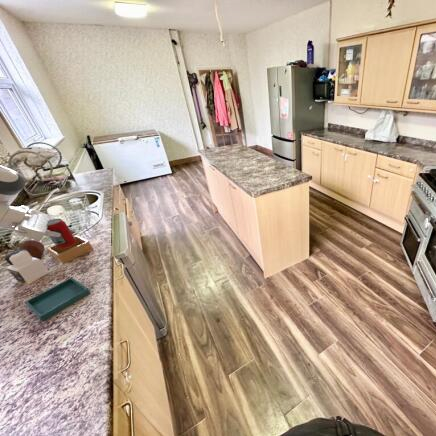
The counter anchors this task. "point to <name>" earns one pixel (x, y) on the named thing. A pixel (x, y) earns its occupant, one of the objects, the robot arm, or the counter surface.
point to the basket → (70, 250)
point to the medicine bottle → (25, 266)
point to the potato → (33, 248)
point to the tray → (57, 298)
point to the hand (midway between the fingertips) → (60, 231)
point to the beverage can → (66, 235)
